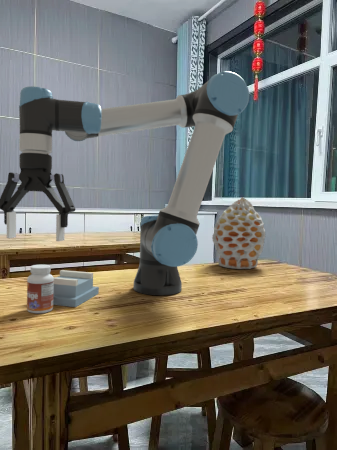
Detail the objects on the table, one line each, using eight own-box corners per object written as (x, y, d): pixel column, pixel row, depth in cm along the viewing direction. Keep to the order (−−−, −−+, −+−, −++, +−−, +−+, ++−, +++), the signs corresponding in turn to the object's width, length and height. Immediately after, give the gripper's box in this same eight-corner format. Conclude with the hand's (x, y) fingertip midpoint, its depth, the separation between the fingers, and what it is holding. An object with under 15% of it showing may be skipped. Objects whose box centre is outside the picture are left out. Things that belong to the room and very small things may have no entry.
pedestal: (98, 293, 107) (98, 271, 107) (75, 307, 94) (76, 282, 93) (61, 289, 110) (62, 268, 110) (34, 302, 97) (34, 278, 96)
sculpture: (253, 274, 142) (256, 197, 140) (202, 267, 154) (205, 195, 152) (269, 266, 160) (273, 198, 158) (223, 260, 172) (226, 196, 170)
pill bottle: (22, 310, 90) (22, 265, 89) (44, 304, 95) (44, 262, 94) (35, 315, 86) (35, 269, 86) (58, 310, 91) (58, 266, 90)
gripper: (89, 155, 91) (88, 240, 92) (1, 154, 96) (1, 235, 98) (75, 151, 84) (74, 243, 85) (-20, 151, 89) (-19, 237, 90)
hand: (35, 239), depth 91 cm, fingers open, 13 cm apart
